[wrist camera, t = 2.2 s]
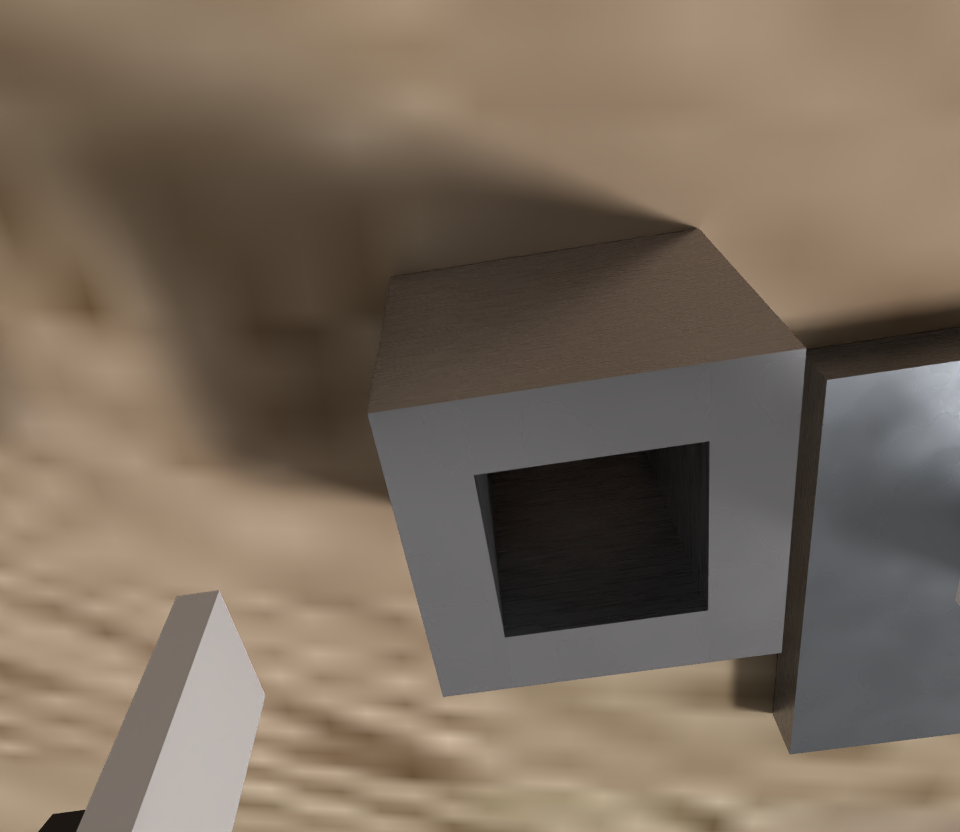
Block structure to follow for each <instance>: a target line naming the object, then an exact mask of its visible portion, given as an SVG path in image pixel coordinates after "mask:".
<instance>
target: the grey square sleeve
mask: <svg viewBox="0 0 960 832" xmlns="http://www.w3.org/2000/svg"><path fill="white" fill-rule="evenodd" d="M805 359H806V347H805V346H804V345H803V344H802V343H801V342H800V341H799V339H798V338H797V337H796V336H795V335H794V334H793V333H792V332H791V331H790V329H789V328H788V327H787V326H786V325H785V324H784V323H783V322H782V321H781V319H780V318H779V317H778V316H777V315H776V314H775V313H774V312H773V311H772V309H771V308H770V307H769V306H768V305H767V304H766V303H765V302H764V300H763V299H762V298H761V297H760V296H759V295H758V294H757V293H756V292H755V290H754V289H753V288H752V287H751V286H750V285H749V284H748V283H747V282H746V280H745V279H744V278H743V277H742V276H741V275H740V274H739V273H738V272H737V270H736V269H735V268H734V267H733V266H732V265H731V264H730V263H729V262H728V260H727V259H726V258H725V257H724V256H723V255H722V254H721V253H720V251H719V250H718V249H717V248H716V247H715V246H714V245H713V244H712V243H711V241H710V240H709V239H708V238H707V237H706V236H705V235H704V234H703V233H702V231H701V230H700V229H694V230H687V231H681V232H675V233H668V234H662V235H656V236H649V237H643V238H636V239H630V240H624V241H617V242H611V243H605V244H598V245H592V246H586V247H579V248H573V249H567V250H560V251H554V252H548V253H541V254H535V255H529V256H522V257H516V258H509V259H503V260H497V261H490V262H484V263H478V264H471V265H465V266H459V267H452V268H446V269H440V270H433V271H427V272H421V273H414V274H408V275H402V276H395V277H391V280H390V286H389V291H388V297H387V303H386V309H385V314H384V320H383V326H382V331H381V337H380V343H379V349H378V354H377V360H376V366H375V372H374V377H373V383H372V389H371V394H370V400H369V406H368V412H367V415H368V419H369V422H370V426H371V430H372V434H373V437H374V441H375V445H376V449H377V452H378V456H379V460H380V463H381V467H382V471H383V475H384V478H385V482H386V486H387V489H388V493H389V497H390V501H391V504H392V508H393V512H394V516H395V519H396V523H397V527H398V530H399V534H400V538H401V542H402V545H403V549H404V553H405V557H406V560H407V564H408V568H409V571H410V575H411V579H412V583H413V586H414V590H415V594H416V598H417V601H418V605H419V609H420V612H421V616H422V620H423V624H424V627H425V631H426V635H427V638H428V642H429V646H430V650H431V653H432V657H433V661H434V665H435V668H436V672H437V676H438V679H439V683H440V687H441V691H442V694H443V697H446V696H454V695H461V694H469V693H477V692H484V691H492V690H500V689H507V688H515V687H523V686H530V685H538V684H546V683H553V682H561V681H569V680H577V679H584V678H592V677H600V676H607V675H615V674H623V673H630V672H638V671H646V670H653V669H661V668H669V667H676V666H684V665H692V664H699V663H707V662H715V661H722V660H730V659H738V658H746V657H753V656H761V655H769V654H776V653H782V641H783V629H784V617H785V605H786V592H787V580H788V568H789V555H790V543H791V531H792V519H793V506H794V494H795V482H796V469H797V457H798V445H799V433H800V420H801V408H802V396H803V383H804V371H805Z"/></svg>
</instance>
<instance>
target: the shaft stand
mask: <svg viewBox="0 0 960 832" xmlns="http://www.w3.org/2000/svg"><path fill="white" fill-rule="evenodd" d="M959 581H960V327H958V328H951V329H944V330H937V331H931V332H924V333H917V334H911V335H904V336H897V337H890V338H884V339H877V340H870V341H864V342H857V343H850V344H843V345H837V346H830V347H823V348H817V349H810V350H806V359H805V371H804V383H803V396H802V408H801V420H800V433H799V445H798V457H797V469H796V482H795V494H794V506H793V519H792V531H791V543H790V555H789V568H788V580H787V592H786V605H785V617H784V629H783V641H782V653H778V656H777V669H776V682H775V695H774V708H773V716H774V718H775V721H776V723H777V725H778V728H779V730H780V733H781V735H782V737H783V740H784V742H785V744H786V747H787V749H788V751H789V754H796V753H805V752H813V751H821V750H829V749H837V748H845V747H853V746H861V745H869V744H877V743H885V742H893V741H901V740H910V739H918V738H926V737H934V736H942V735H950V734H958V733H960V606H959V604H958V603H957V602H956V601H955V599H956V595H957V590H958V586H959Z"/></svg>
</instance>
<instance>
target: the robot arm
mask: <svg viewBox="0 0 960 832" xmlns="http://www.w3.org/2000/svg"><path fill="white" fill-rule="evenodd" d="M955 601H956V602H957V603H958V604H959V606H960V581H959V586H958V590H957V595H956V599H955ZM264 699H265V693H264V691H263V689H262V687H261V684H260V682H259V680H258V678H257V675H256V673H255V671H254V668H253V666H252V664H251V662H250V659H249V657H248V655H247V652H246V650H245V648H244V646H243V643H242V641H241V639H240V636H239V634H238V632H237V630H236V627H235V625H234V623H233V620H232V618H231V616H230V614H229V611H228V609H227V607H226V604H225V602H224V600H223V598H222V595H221V593H220V591H219V590H218V591H211V592H204V593H197V594H190V595H183V596H177V597H176V599H175V602H174V604H173V606H172V609H171V611H170V613H169V616H168V618H167V620H166V623H165V625H164V627H163V630H162V632H161V634H160V637H159V639H158V641H157V644H156V646H155V648H154V651H153V653H152V655H151V658H150V660H149V662H148V665H147V667H146V670H145V672H144V674H143V677H142V679H141V681H140V684H139V686H138V688H137V691H136V693H135V695H134V698H133V700H132V702H131V705H130V707H129V709H128V712H127V714H126V716H125V719H124V721H123V723H122V726H121V728H120V730H119V733H118V735H117V738H116V740H115V742H114V745H113V747H112V749H111V752H110V754H109V756H108V759H107V761H106V763H105V766H104V768H103V770H102V773H101V775H100V777H99V780H98V782H97V784H96V787H95V789H94V791H93V794H92V796H91V798H90V801H89V803H88V805H87V808H86V810H80V811H73V812H65V813H58V814H53V815H52V816H51V817H50V818H49V819H48V821H47V822H46V823H45V824H44V825H43V827H42V828H41V829H40V830H39V832H232V829H233V825H234V821H235V817H236V812H237V808H238V804H239V800H240V796H241V792H242V788H243V784H244V780H245V776H246V772H247V768H248V764H249V760H250V756H251V752H252V748H253V743H254V739H255V735H256V731H257V727H258V723H259V719H260V715H261V711H262V707H263V703H264Z"/></svg>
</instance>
